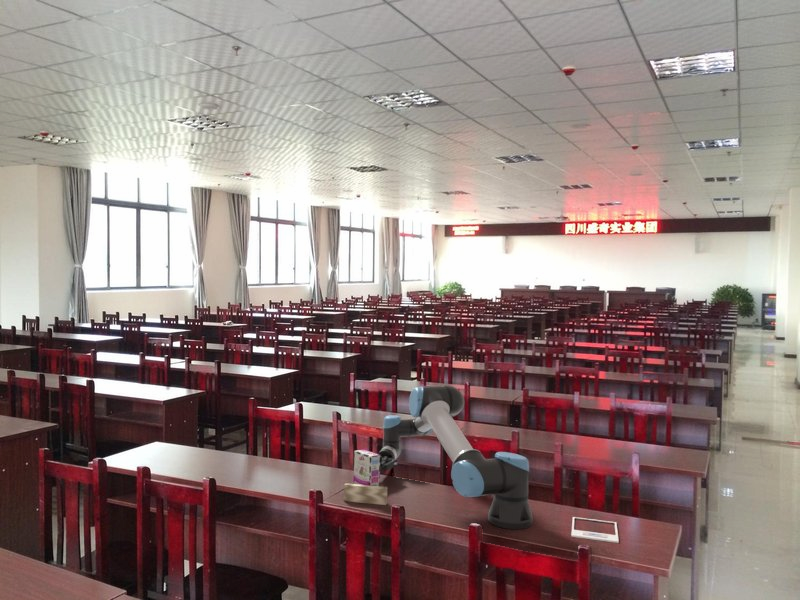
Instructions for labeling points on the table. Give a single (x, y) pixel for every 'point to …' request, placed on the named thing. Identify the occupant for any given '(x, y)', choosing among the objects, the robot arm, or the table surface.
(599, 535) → the photo frame
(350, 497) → the board
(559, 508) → the table surface
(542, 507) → the table surface
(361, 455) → the candy bar box
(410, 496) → the table surface
